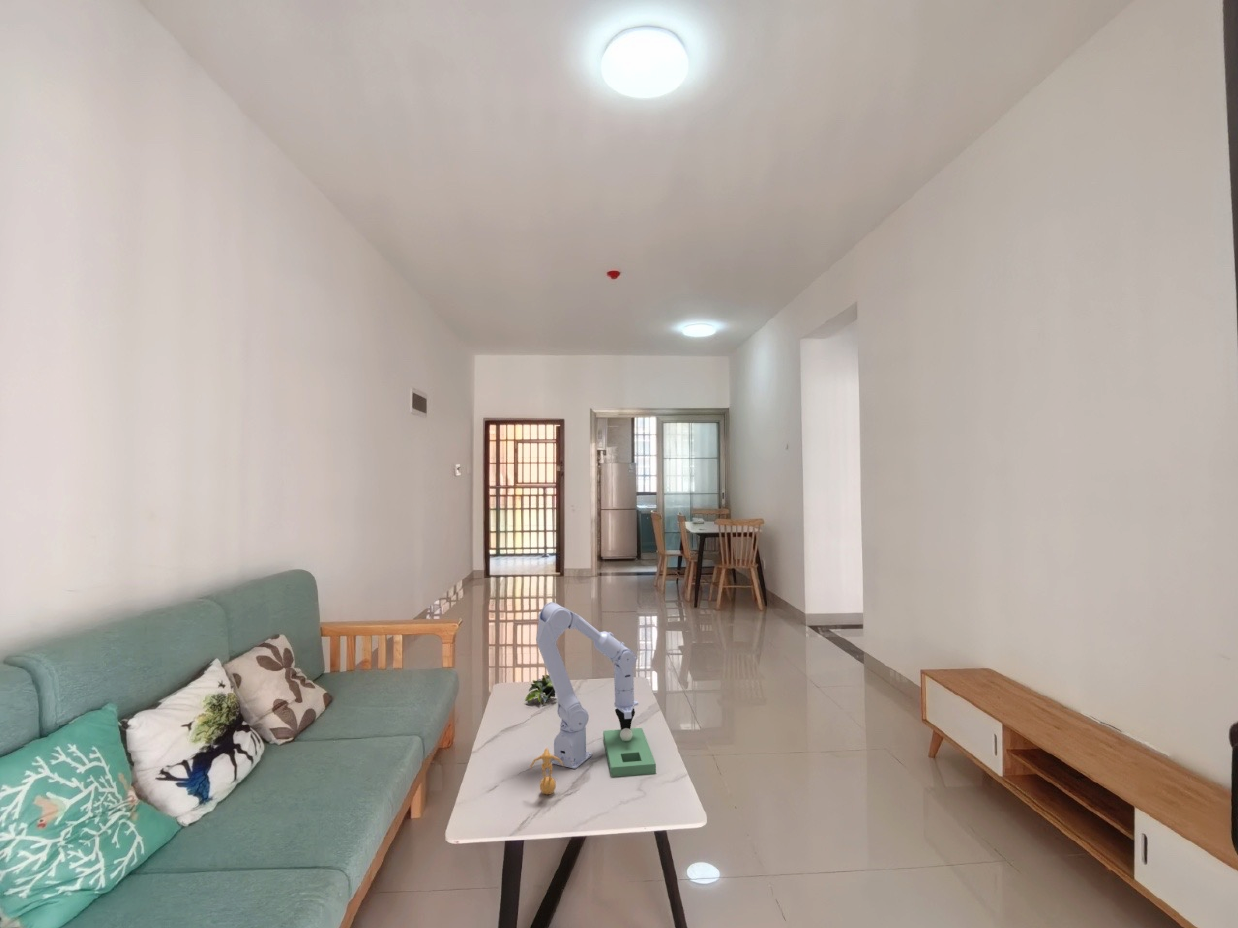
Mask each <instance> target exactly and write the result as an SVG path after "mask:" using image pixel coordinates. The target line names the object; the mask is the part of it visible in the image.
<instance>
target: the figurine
mask: <svg viewBox="0 0 1238 928" xmlns="http://www.w3.org/2000/svg"><path fill="white" fill-rule="evenodd" d="M554 759H556V760H558V761H559V762H560V763H561V764H562V767H563V768H564V767H565V766H564V765H563V763H562V761H561V760H560V759H559V758H558V757H555V756H554V754H551V753H550V751H549V749H548V748H547V747H546V748H545V749H544V751H543V753H542V754H541V755H539V756H538V757H536V758H534V759H533V761H532V763H531V764H530V767H529V768H530V769H532V768H533V766H534V764H535V762H536V761H537V762H538V761H539V760H542V762H543V763H541V769H542V776H543V778H542V779H541V781H540V783H539V789H540V791H541V793H542V794H544V795H547V796H548V795H552V794H553V793H554V792H555V790H556V786H557V785H556V784H557V783H556V780H555V779H554V778H553V777H552V774H553V771H552V770H553V763H552V762H551V760H554ZM546 769H548V770H549V771H548V774H549V776H546Z"/></svg>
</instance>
